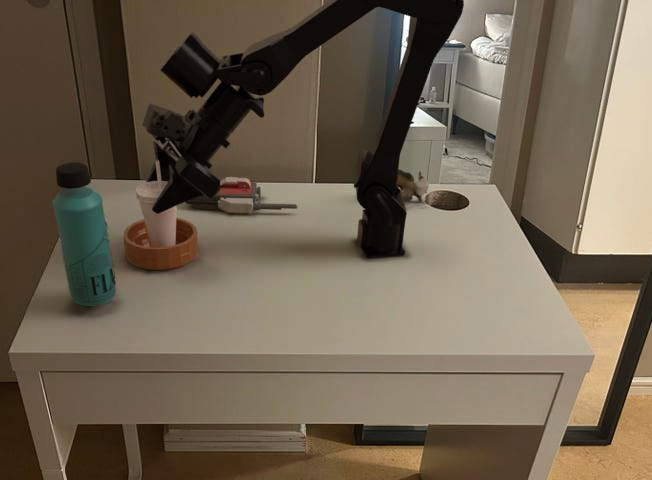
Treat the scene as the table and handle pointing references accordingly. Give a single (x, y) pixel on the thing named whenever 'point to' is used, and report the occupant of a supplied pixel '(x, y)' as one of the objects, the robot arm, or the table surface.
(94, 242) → the beverage bottle
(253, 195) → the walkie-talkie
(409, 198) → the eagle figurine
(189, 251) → the bowl
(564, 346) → the table surface
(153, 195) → the smoothie
